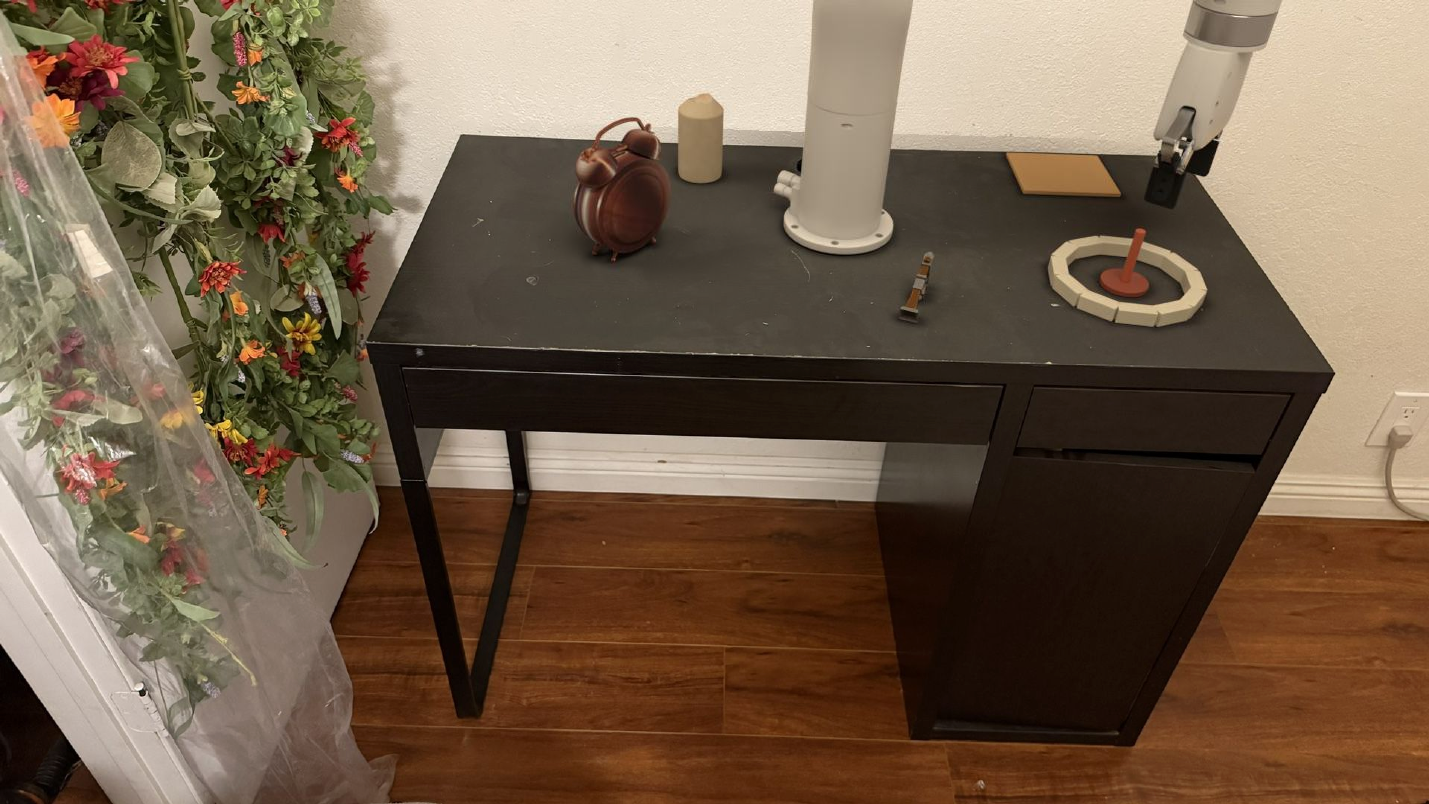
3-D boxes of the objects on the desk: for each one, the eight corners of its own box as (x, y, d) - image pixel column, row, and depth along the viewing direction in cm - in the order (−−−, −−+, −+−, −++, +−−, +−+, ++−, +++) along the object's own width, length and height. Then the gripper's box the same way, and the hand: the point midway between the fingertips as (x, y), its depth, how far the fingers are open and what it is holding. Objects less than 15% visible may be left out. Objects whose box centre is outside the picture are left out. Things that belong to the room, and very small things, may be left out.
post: (1091, 286, 107) (1108, 231, 103) (1110, 268, 110) (1126, 214, 106) (1136, 303, 104) (1155, 247, 100) (1154, 284, 107) (1173, 229, 103)
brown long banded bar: (937, 275, 106) (939, 249, 102) (915, 336, 103) (917, 311, 99) (920, 271, 106) (922, 245, 102) (898, 332, 103) (900, 307, 99)
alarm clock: (645, 225, 115) (642, 99, 105) (674, 240, 112) (674, 113, 103) (572, 258, 109) (562, 128, 99) (601, 275, 106) (593, 143, 97)
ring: (1168, 344, 98) (1173, 331, 97) (1023, 288, 106) (1027, 275, 105) (1220, 282, 108) (1225, 269, 107) (1084, 234, 115) (1087, 222, 114)
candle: (695, 160, 128) (696, 85, 122) (730, 172, 126) (732, 95, 120) (669, 175, 125) (668, 98, 119) (704, 188, 123) (706, 109, 116)
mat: (1023, 193, 123) (1024, 190, 123) (1005, 155, 132) (1006, 152, 132) (1120, 197, 123) (1121, 193, 123) (1096, 158, 132) (1097, 155, 131)
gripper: (1219, -5, 102) (1170, 152, 113) (1156, 38, 92) (1109, 206, 102) (1296, 10, 98) (1238, 171, 109) (1240, 57, 88) (1182, 229, 99)
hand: (1176, 188), depth 106 cm, fingers open, 9 cm apart
